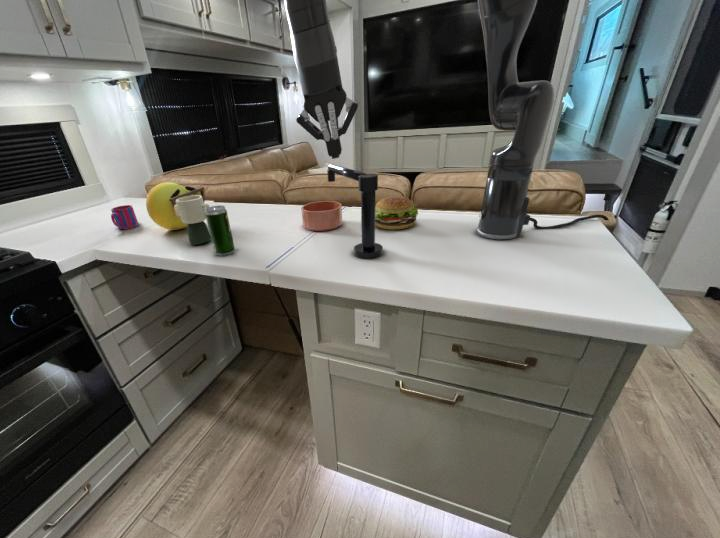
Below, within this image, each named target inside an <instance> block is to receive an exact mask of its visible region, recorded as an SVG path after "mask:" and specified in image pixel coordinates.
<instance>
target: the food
mask: <svg viewBox="0 0 720 538" xmlns="http://www.w3.org/2000/svg"><path fill="white" fill-rule="evenodd" d="M418 216H419V210H418V207H417V206H416V204H414V201H413V200H412V199H410V198H409V197H406V196H401V195H391V196H386V197H383V198H381V199H380V200H379V201H378V202H375V227H378V228H379V229H383V230H393V231H395V230H397V231H398V230H402V229H403V230H404V229H407V228H410V227H412V226H414V224H415V222H416V220H417V217H418Z"/></svg>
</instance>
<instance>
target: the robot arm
mask: <svg viewBox="0 0 720 538" xmlns="http://www.w3.org/2000/svg"><path fill="white" fill-rule="evenodd" d="M282 1H283V8H284V12H285V17H286V22H287V24H288V30H289V34H290V39H291V47H292V53H293V58H294V62H295V66H296V70H297V75H298V79H299V83H300V87H301V91H302V96H303V105H302V106H303V109H302V111H301V113H299V114H298V115H297V117H296V119H295V121H296V123H297V124H298V125H299V126H301V128H303V129H304V130H305V131H306V132H307V133H308V134H310V135H311V137H313V138H314V139H315V140H317V141H320V140H322V141H324V142H325V146H326V150H327V155H328V156H329V157H331V159H332V160H335V159H339V158H340V155H341V154H342V150H343V148H342V143H341V138H340V137H341V136H343V135H346V133H347V132H348V129H349V127H350V126H351V122H352V121H353V118H354V117H355V115H356V112H357V110H358V108H359V102H358V100H356V99H355V100H353V99H351V98H350V97H348V96H347V92H346V91H345V89H344V87H343V83H342V76H341V71H340V65H339V59H338V48H337V46H336V41H335V37H334V33H333V30H332V26H331V22H330V21H331V20H330V14H329V10H328V3H327V0H282ZM537 2H538V0H477V7H478V8H477V9H478V13H479V14H478V15H479V19H480V25H481V30H482V31H481V32H482V37H483V38H482V39H483V44H484V45H483V47H484V51H485V52H484V54H485V61H486V72H487V74H486V75H487V93H488V95H487V96H488V97H487V98H488V113H489V118H490V121H491V124H492V126H493V127H494V128H495V129H496V130H498V131H506V132H507V131H510V132H514V135H513V137H512V140H511V141H510V142H509V143H508V144H506V145H505V146H504V145H503V146H501V147H498V148H495V149H493V151H492V152H491V153H490V158H489V163H488V169H487V175H486V181H485V187H484V192H483V198H482V204H481V211H479V212H478V213H479V214H478V217H479V221H478V226H477V229H476V233H477V235H479V236H480V237H483V238H486V239H490V240H499V241H500V240H501V241H503V240H511V239H514V238H516V237H521V235H522V231H523V227H524V226H528V225H529V224H530V222H531V223H533V228H534V229H536V230H553V229H560V228H564V227H570V226H572V225H574V224H576V223H579V222H581V221H586V220H590V219H596V218H597V219H599V218H600V219H603V220H604V221H609V220H610V219H609V218H608V217H607V216H606V215H604V214H591V215H588V216H583V217H578V218H576V219H573V220H572V221H570V222H565V223H560V224H555V225H550V226H549V225H548V226H539V225H538V221H537V219H535V218H533V217H531V215H530V214H528V213H527V212H528V208H529V204H530V198H529V197H528V196H527V195H528V190H529V186H530V182H531V179H532V173H533V169H534V164H535V161H536V157H537V155H538V153H539V151H540V149H541V147H542V144H543V141H544V137H545V133H546V130H547V127H548V123H549V120H550V118H551V113H552V110H553V107H554V106H553V105H554V100H555V89H554V86H553V84H552V83H551V81H548V80H545V79H544V80H542V79H541V80H530V81H522V82H521V81H520V82H519V78H518V72H517V71H518V68H517V59H518V53H519V49H520V47H521V44H522V41H523V39H524V37H525V35H526V32H527V29H528V27H529V26H530V23H531V20H532V18H533V15H534V13H535V10H536V6H537ZM344 106H345V111H346V115H345V118H344V120H343V122H342V124H341V125H340V126H339V118H340V116H341V113H342V112H343V109H344ZM311 118H312V119H313V120H315V122H317V123H318V124H319V127H320V128H319V127H318V126H317V125H315V124H314V123H313V122H312V121H311V120H310V119H311Z"/></svg>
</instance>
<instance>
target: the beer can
mask: <svg viewBox="0 0 720 538" xmlns="http://www.w3.org/2000/svg"><path fill="white" fill-rule="evenodd" d="M205 208H206V207H205ZM205 211H206V212H205V215H206V219H205V220H206V224H207V228H208V230H209V233H210V236H211V239H210V240H211V243H212V246H213V250H214V253H215V254H216V256H219V257H224V256H229V255H232V254H234V253H235V249H236V246H235V243H234V238H233V233H232V228H231V225H230V220H229V219H230V218H229V215H228V209H226V206H225V205H220V204H219V205H211V206H209V207H208V208H206V209H205Z"/></svg>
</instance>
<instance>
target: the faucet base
mask: <svg viewBox="0 0 720 538" xmlns="http://www.w3.org/2000/svg"><path fill="white" fill-rule="evenodd" d="M375 204H376V191H370V192H363V191H360V209H361V210H360V213H361V214H360V215H361V218H360V219H361V220H360V222H361V228H360V229H361V230H360V231H361V243H357V244H356V245H354V247H353V254H354V256H355V257H357V258H359V259H366V260H369V259H370V260H371V259H376V258H379V257H381V256H382V255H383V253H384V248H383V245H382V244H381V243H377V242H376V225H375Z"/></svg>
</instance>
